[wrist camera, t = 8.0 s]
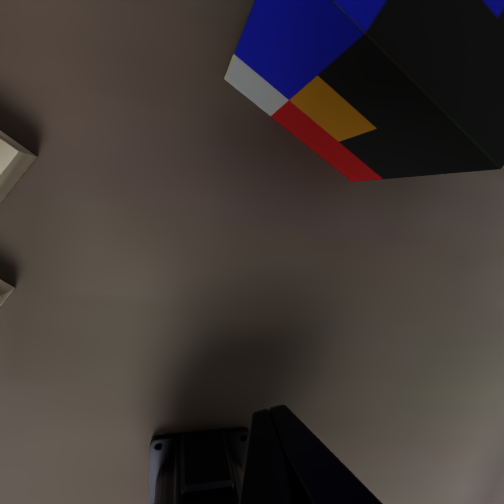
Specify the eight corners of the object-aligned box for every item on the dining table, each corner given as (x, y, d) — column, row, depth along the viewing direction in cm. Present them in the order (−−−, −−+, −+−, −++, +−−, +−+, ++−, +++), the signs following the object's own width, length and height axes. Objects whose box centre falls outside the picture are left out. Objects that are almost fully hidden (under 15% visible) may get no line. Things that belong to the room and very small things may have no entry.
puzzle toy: (223, 79, 18) (275, -57, 8) (320, -73, 18) (488, -393, 8) (351, 181, 21) (501, 168, 11) (436, 51, 20) (664, -77, 11)
